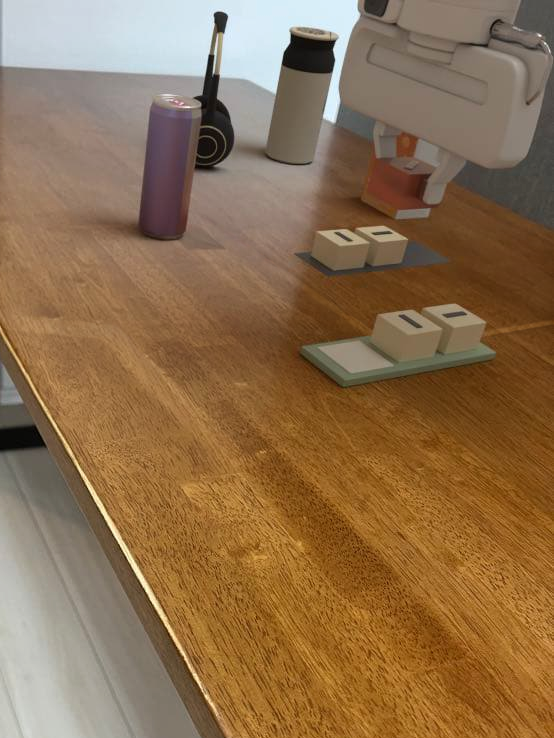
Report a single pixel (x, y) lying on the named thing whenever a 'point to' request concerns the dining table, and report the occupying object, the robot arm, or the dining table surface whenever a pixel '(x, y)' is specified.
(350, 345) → the word board
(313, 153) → the travel mug
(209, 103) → the headphones
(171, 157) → the beverage can
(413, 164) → the block
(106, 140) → the dining table surface
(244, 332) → the dining table surface
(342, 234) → the board
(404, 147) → the small box
